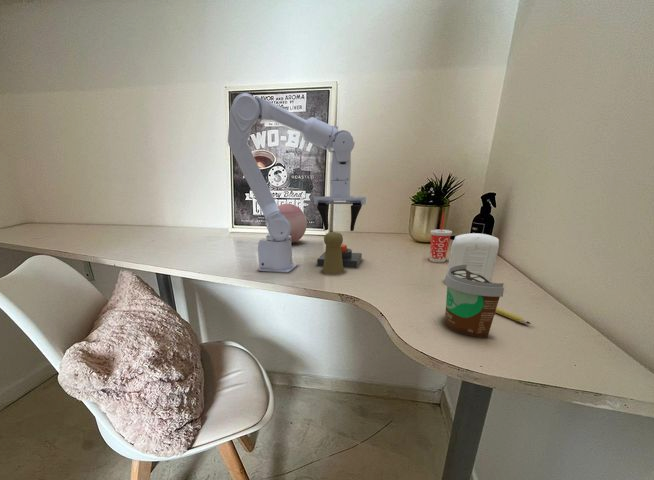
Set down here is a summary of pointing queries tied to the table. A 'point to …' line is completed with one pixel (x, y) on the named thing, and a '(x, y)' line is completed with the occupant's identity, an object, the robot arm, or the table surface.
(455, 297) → the food container
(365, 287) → the table surface
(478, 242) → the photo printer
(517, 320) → the pencil
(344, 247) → the timer button
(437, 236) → the beverage cup
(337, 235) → the cork
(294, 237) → the pink ball
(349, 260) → the dark grey button base
